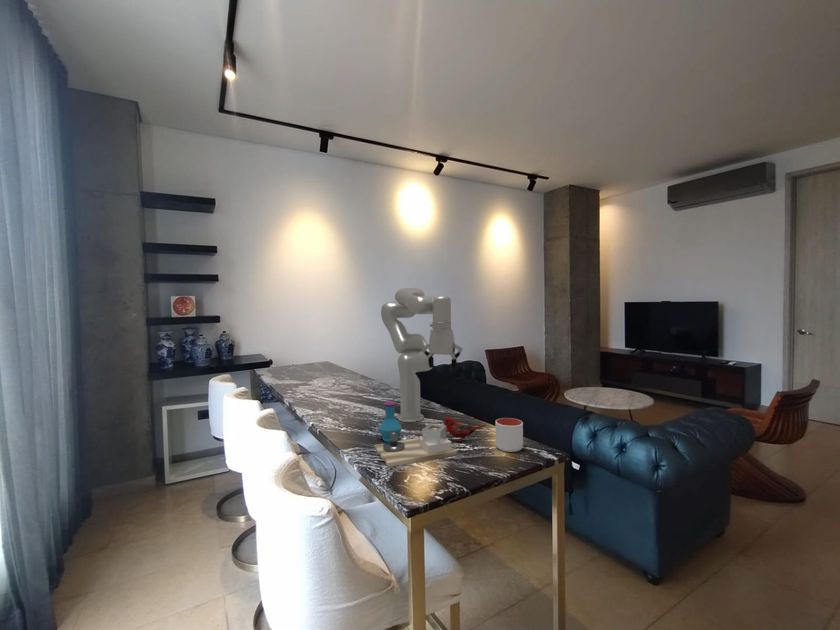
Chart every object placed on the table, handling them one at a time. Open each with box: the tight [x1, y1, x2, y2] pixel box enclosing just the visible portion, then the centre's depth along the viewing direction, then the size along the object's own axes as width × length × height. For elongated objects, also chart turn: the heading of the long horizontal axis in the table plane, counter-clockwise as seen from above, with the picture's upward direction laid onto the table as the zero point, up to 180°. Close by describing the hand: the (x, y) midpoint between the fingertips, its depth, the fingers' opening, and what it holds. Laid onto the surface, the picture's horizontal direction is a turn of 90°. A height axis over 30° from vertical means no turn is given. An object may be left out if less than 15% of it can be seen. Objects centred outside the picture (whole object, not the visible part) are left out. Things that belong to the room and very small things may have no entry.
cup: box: [495, 417, 524, 453], centre depth 143 cm, size 10×10×10 cm
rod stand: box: [383, 431, 405, 452], centre depth 140 cm, size 8×8×6 cm
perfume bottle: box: [378, 400, 402, 443], centre depth 154 cm, size 9×9×15 cm
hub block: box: [418, 428, 452, 454], centre depth 140 cm, size 9×9×7 cm
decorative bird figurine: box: [442, 416, 487, 443], centre depth 150 cm, size 3×18×10 cm, turn 95°
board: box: [373, 437, 458, 468], centre depth 140 cm, size 18×26×2 cm
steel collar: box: [421, 423, 448, 444], centre depth 140 cm, size 7×7×4 cm
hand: (442, 367), depth 156 cm, fingers open, 9 cm apart
